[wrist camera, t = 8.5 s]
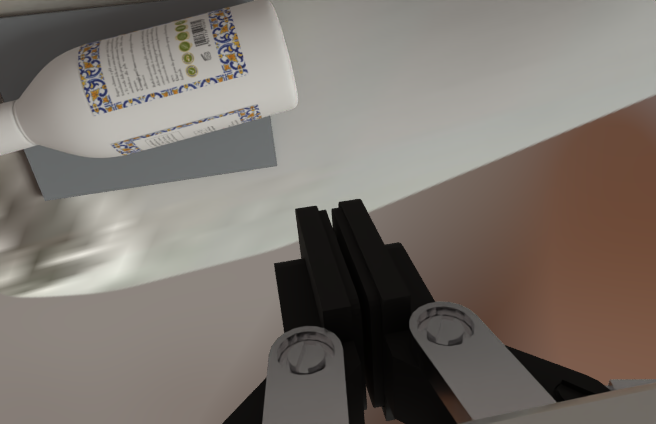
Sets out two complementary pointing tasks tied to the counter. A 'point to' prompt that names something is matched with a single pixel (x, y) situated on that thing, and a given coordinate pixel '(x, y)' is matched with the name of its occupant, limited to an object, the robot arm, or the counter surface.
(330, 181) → the counter surface
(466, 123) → the counter surface
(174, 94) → the bath foam
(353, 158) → the counter surface
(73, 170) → the mat
